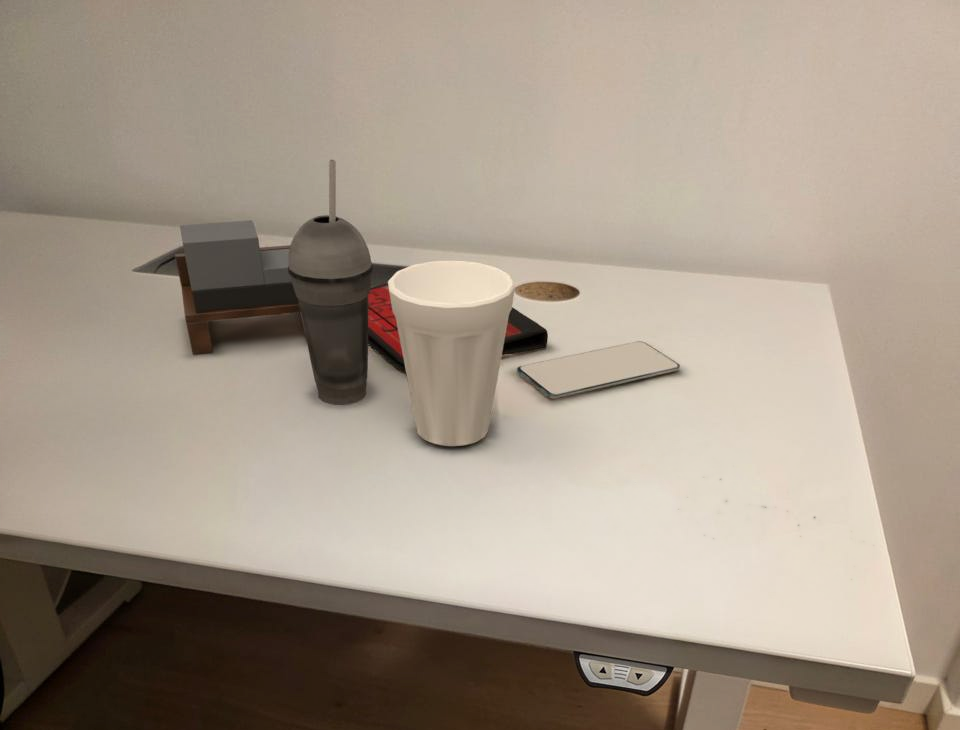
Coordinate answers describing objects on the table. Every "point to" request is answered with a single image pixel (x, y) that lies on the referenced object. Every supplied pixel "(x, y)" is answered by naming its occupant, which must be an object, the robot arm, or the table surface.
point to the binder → (387, 342)
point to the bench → (199, 320)
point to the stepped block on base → (234, 267)
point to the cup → (452, 344)
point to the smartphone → (597, 369)
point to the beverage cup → (333, 301)
